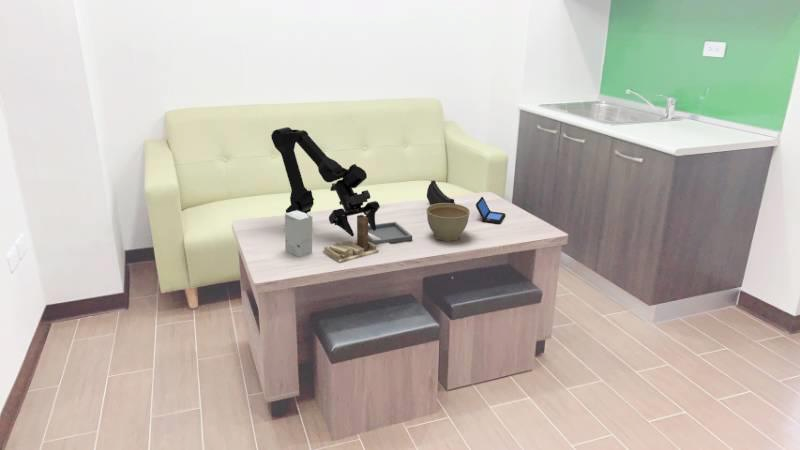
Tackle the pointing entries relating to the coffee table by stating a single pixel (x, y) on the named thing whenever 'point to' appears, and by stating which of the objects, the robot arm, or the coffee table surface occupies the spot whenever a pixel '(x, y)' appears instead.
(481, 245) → the coffee table surface
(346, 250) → the offcut
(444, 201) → the black curved fin
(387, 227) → the tray
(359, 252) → the offcut rack
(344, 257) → the offcut
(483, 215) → the handheld game console
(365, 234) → the walnut block
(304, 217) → the skincare box
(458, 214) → the planter bowl
